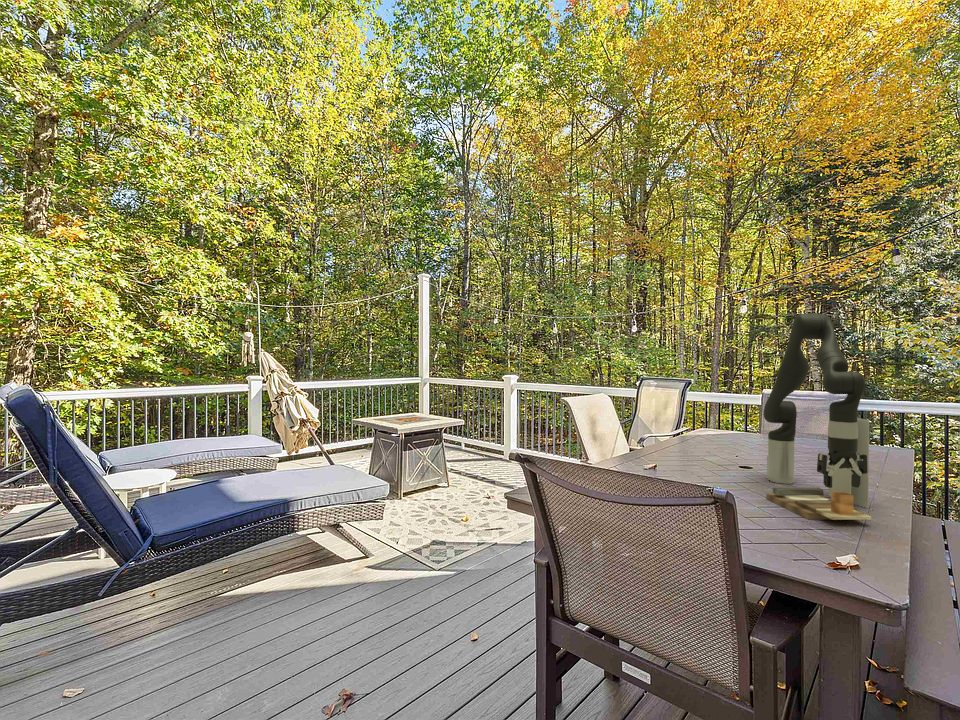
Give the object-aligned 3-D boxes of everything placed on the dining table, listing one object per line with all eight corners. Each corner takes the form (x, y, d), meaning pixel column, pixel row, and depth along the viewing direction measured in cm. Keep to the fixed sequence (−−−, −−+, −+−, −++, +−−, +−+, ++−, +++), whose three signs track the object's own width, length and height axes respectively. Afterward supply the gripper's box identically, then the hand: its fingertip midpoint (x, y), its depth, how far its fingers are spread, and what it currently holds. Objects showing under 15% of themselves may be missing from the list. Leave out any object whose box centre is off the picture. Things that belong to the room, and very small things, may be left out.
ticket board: (766, 498, 175) (766, 485, 175) (815, 498, 176) (815, 485, 176) (808, 519, 153) (808, 504, 153) (864, 519, 154) (864, 504, 154)
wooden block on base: (813, 511, 155) (814, 490, 155) (850, 510, 155) (851, 489, 155) (832, 519, 147) (832, 497, 147) (871, 519, 147) (871, 497, 147)
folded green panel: (868, 508, 164) (869, 420, 164) (850, 507, 165) (851, 420, 165) (845, 496, 178) (846, 415, 178) (829, 495, 179) (829, 415, 179)
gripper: (855, 433, 155) (854, 483, 155) (811, 433, 155) (810, 483, 155) (875, 437, 147) (874, 490, 148) (829, 437, 147) (828, 490, 147)
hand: (841, 487), depth 151 cm, fingers open, 8 cm apart
